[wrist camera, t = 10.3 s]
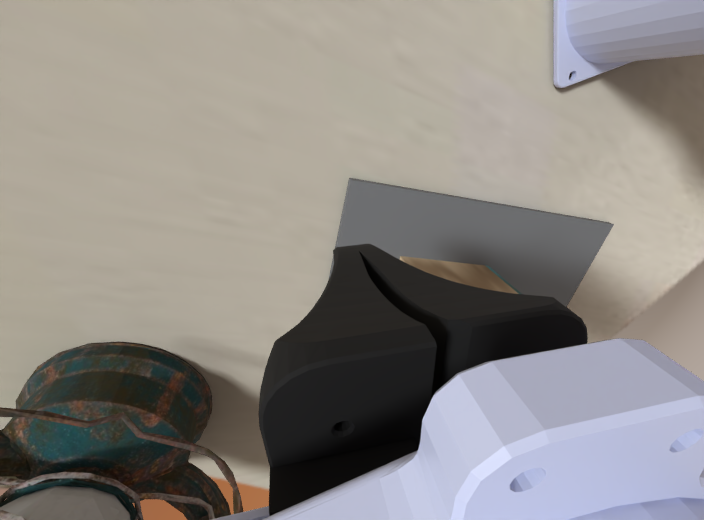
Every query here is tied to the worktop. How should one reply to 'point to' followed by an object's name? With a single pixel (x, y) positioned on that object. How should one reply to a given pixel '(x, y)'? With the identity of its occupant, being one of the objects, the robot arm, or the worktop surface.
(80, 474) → the lantern
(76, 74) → the worktop surface
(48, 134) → the worktop surface
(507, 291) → the oak block
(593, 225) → the mat
